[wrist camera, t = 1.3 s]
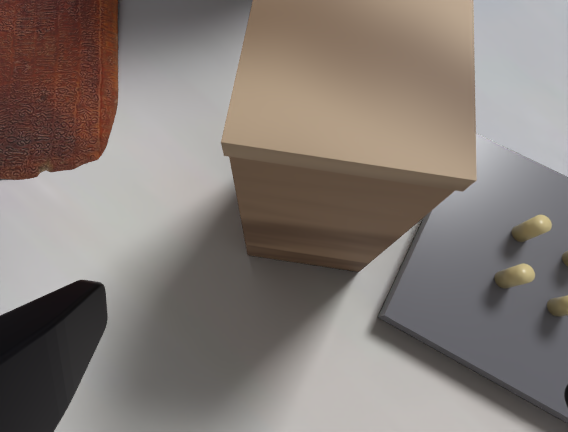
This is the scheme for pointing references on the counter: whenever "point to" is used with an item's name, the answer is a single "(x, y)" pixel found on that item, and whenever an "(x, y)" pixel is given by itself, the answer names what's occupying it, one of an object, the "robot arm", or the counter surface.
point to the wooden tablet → (56, 83)
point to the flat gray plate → (494, 277)
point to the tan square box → (349, 124)
